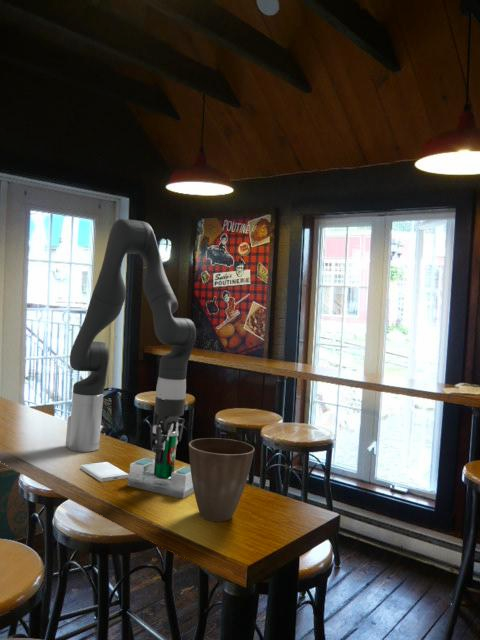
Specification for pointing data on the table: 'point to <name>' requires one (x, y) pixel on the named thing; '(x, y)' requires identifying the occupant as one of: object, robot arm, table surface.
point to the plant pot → (219, 475)
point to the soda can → (167, 458)
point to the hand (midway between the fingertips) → (164, 461)
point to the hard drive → (104, 471)
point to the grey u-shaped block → (146, 479)
